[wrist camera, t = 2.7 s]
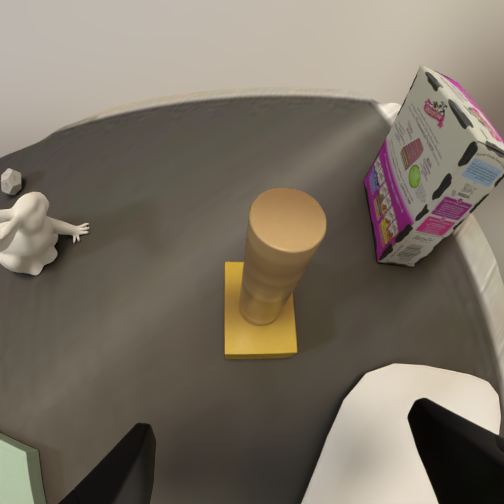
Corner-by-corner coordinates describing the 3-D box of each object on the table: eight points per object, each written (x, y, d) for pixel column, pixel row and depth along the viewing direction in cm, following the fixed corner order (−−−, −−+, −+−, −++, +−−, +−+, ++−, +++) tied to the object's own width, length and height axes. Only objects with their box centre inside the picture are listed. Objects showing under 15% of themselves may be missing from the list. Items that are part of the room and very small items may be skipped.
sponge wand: (288, 358, 22) (367, 303, 9) (225, 359, 21) (220, 307, 9) (283, 277, 25) (333, 157, 13) (225, 277, 25) (224, 151, 12)
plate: (499, 382, 20) (509, 380, 19) (446, 549, 10) (454, 553, 9) (344, 349, 22) (352, 346, 21) (262, 565, 12) (264, 574, 10)
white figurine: (91, 224, 26) (52, 157, 17) (80, 294, 22) (21, 240, 14) (11, 232, 25) (-32, 181, 16) (-4, 292, 21) (-60, 250, 13)
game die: (14, 179, 28) (4, 165, 26) (30, 178, 29) (20, 163, 26) (3, 199, 27) (-8, 185, 24) (18, 199, 27) (8, 185, 24)
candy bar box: (416, 268, 26) (520, 164, 12) (376, 264, 26) (478, 141, 12) (397, 186, 32) (459, 81, 17) (362, 179, 32) (418, 61, 17)
